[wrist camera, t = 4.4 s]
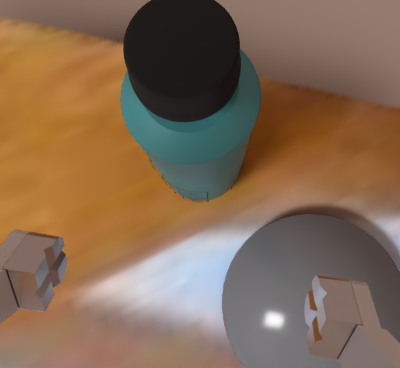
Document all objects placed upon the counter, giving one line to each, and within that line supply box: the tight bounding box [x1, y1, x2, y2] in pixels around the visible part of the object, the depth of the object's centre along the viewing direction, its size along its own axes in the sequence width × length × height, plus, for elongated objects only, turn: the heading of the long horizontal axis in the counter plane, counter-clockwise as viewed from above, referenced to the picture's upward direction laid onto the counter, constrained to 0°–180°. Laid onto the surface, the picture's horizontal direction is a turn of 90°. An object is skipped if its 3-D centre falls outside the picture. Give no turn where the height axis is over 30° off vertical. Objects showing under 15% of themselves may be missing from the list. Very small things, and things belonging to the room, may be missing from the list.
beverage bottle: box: [120, 0, 261, 202], centre depth 22 cm, size 6×7×20 cm
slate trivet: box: [222, 214, 400, 368], centre depth 29 cm, size 14×14×1 cm
